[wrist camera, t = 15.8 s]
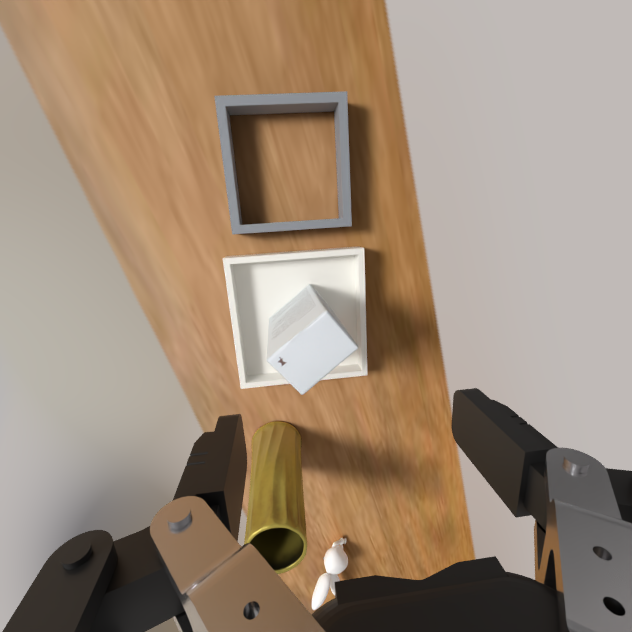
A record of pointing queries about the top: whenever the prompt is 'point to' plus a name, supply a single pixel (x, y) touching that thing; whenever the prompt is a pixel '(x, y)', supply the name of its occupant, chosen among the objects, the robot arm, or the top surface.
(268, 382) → the tray
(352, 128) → the top surface
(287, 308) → the skincare box
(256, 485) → the vase
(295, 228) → the frame
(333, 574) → the rabbit figurine
